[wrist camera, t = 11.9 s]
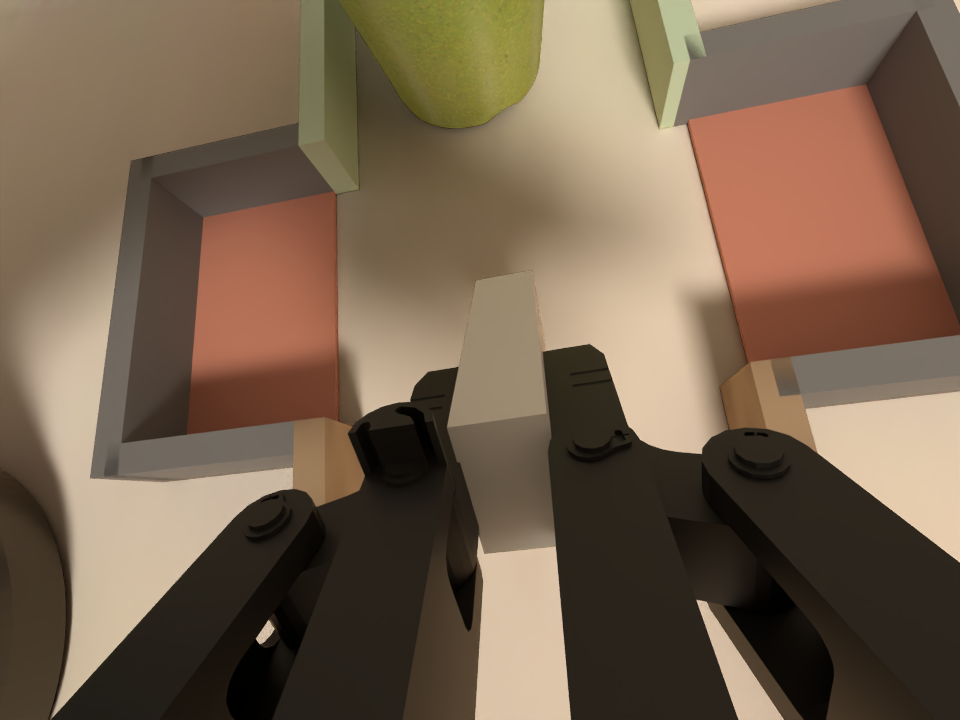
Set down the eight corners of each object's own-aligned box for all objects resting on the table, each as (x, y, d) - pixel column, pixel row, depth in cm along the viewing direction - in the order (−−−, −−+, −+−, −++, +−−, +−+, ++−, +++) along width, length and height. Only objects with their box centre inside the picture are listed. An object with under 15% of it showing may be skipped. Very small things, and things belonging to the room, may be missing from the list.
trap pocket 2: (352, 460, 18) (308, 452, 15) (163, 481, 19) (89, 478, 16) (347, 171, 21) (311, 120, 18) (187, 204, 22) (131, 160, 19)
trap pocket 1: (1017, 384, 15) (1123, 356, 12) (743, 416, 16) (780, 396, 13) (885, 59, 18) (942, -23, 15) (668, 104, 19) (683, 35, 16)
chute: (847, 754, 13) (921, 824, 10) (341, 763, 15) (287, 823, 12) (753, 382, 16) (790, 356, 13) (338, 433, 18) (294, 420, 15)
